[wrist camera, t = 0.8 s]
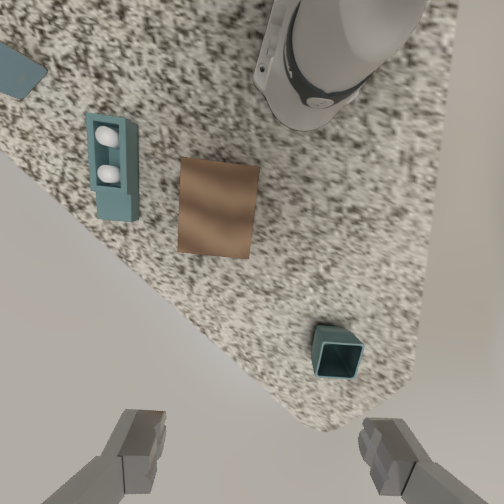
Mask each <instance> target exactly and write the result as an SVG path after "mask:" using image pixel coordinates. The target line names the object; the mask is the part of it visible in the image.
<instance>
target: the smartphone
mask: <svg viewBox="0 0 504 504" xmlns="http://www.w3.org/2000/svg"><path fill="white" fill-rule="evenodd" d="M46 73H47V70H46V69H45V67H44V66H42V65H40V64H39V63H37V62H35V61H34V60H32V59H30V58H29V57H27V56H25V55H24V54H22V53H20V52H19V51H17V50H15V49H14V48H12V47H10V46H9V45H7V44H5V43H4V42H2V41H0V92H2V93H4V94H7V95H10V96H12V97H15V98H17V99H23V98H25V97H26V96H27V95H28V94H29V92H30V91H31V90H32V89H33V88H34V87H35V86H36V85H37V84H38V82H39V81H40V80H41V79H42V78H43V77H44V76H45V75H46Z"/></svg>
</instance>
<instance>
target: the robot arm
mask: <svg viewBox="0 0 504 504" xmlns="http://www.w3.org/2000/svg"><path fill="white" fill-rule="evenodd" d="M427 1H428V0H274V3H273V6H272V10H271V14H270V17H269V21H268V24H267V28H266V31H265V35H264V39H263V42H262V46H261V49H260V53H259V56H258V60H257V64H256V67H255V71H254V74H253V82H254V84H255V86H256V87H257V88H258V89H259V90H260V91H261V92H262V93H263V94H264V95H265V97H266V99H267V101H268V104H269V106H270V108H271V110H272V112H273V113H274V115H275V116H276V117H277V119H278V120H279V121H280V122H282V123H283V124H284V125H286V126H288V127H290V128H292V129H295V130H300V131H309V130H314V129H317V128H319V127H321V126H323V125H325V124H326V123H327V122H329V121H330V120H331V119H332V118H333V117H334V116H335V114H336V113H337V112H338V111H339V110H340V109H341V108H342V107H343V106H345V105H347V104H349V103H351V102H352V101H354V100H355V99H356V98H357V96H358V95H359V91H360V88H361V87H362V86H363V85H364V84H365V83H366V82H367V80H368V79H369V78H370V77H371V75H372V74H373V72H374V71H375V70H376V69H377V68H378V67H379V66H380V65H381V64H383V63H384V62H385V61H386V60H387V59H388V58H390V57H391V56H392V55H393V54H394V53H396V52H397V51H398V50H399V49H400V48H401V47H402V46H403V45H404V43H405V42H406V41H407V40H408V38H409V37H410V35H411V34H412V32H413V31H414V29H415V27H416V25H417V24H418V22H419V20H420V18H421V16H422V14H423V12H424V9H425V6H426V3H427ZM261 68H263V69H264V72H261V71H260V69H261ZM165 420H166V411H152V410H136V409H135V410H134V409H126V410H125V411H124V412H123V413H122V415H121V417H120V419H119V421H118V423H117V425H116V427H115V429H114V431H113V433H112V434H111V436H110V439H109V440H108V442H107V445H106V447H105V448H104V450H103V452H102V454H101V456H96V457H95V458H93V459H92V460H91V461H90V462H89V463H88V464H86V465H85V466H84V467H83V468H82V469H81V470H80V471H79V472H77V473H76V474H75V475H74V476H73V477H72V478H70V479H69V480H68V481H67V482H66V483H65V484H64V485H62V486H61V487H60V488H59V489H58V490H57V491H56V492H55V493H53V494H52V495H51V496H50V497H49V498H48V499H46V500H45V501H44V502H43V503H42V504H118V503H119V502H120V501H121V500H122V499H123V497H124V494H149V493H150V492H151V489H152V485H153V482H154V478H155V475H156V472H157V460H158V459H159V458H160V457H161V454H162V451H163V447H164V441H165V436H166V426H165V425H164V423H165ZM363 426H364V429H363V430H362V431H360V433H359V437H358V442H359V449H360V452H361V455H362V457H363V460H364V461H365V462H366V463H367V464H368V465H369V466H370V467H371V468H370V475H371V477H372V480H373V482H374V484H375V486H376V489H377V491H378V493H379V495H386V496H402V497H401V498H402V499H403V500H404V501H405V502H406V503H407V504H488V503H487V502H486V501H484V500H483V499H482V498H481V497H479V496H478V495H477V494H475V493H474V492H473V491H472V490H470V489H469V488H468V487H467V486H465V485H464V484H463V483H462V482H461V481H459V480H458V479H457V478H456V477H454V476H453V475H452V474H450V473H449V472H448V471H447V470H446V469H444V468H443V467H442V466H440V465H439V464H438V463H434V462H432V460H431V458H430V457H429V456H428V454H427V453H426V451H425V450H424V448H423V447H422V446H421V444H420V443H419V441H418V440H417V438H416V437H415V435H414V434H413V433H412V431H411V430H410V428H409V427H408V425H407V424H406V423H405V421H404V420H402V419H397V418H396V419H394V418H365V419H364V421H363Z"/></svg>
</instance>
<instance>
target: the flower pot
mask: <svg viewBox="0 0 504 504" xmlns="http://www.w3.org/2000/svg"><path fill="white" fill-rule="evenodd" d="M363 350H364V344H363V343H362V342H361V341H360V340H359V339H358V338H357V337H356V336H355V335H354V334H352V333H351V332H350V331H348V330H346V329H344V328H341V327H337V326H324V325H317V327H316V330H315V335H314V340H313V344H312V349H311V359H312V364H313V369H314V373H315V377H318V378H336V379H355V378H356V375H357V371H358V367H359V364H360V360H361V357H362V354H363Z"/></svg>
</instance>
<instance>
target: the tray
mask: <svg viewBox="0 0 504 504" xmlns="http://www.w3.org/2000/svg"><path fill="white" fill-rule="evenodd" d="M86 125H87V140H88V156H89V172H90V188H91V191H96V202H97V219H106V220H116V221H125V222H133V221H136V220H139V155H138V125H136V124H135V123H133V122H131V121H129V120H128V119H126V118H121V117H114V116H107V115H100V114H93V113H86Z"/></svg>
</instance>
